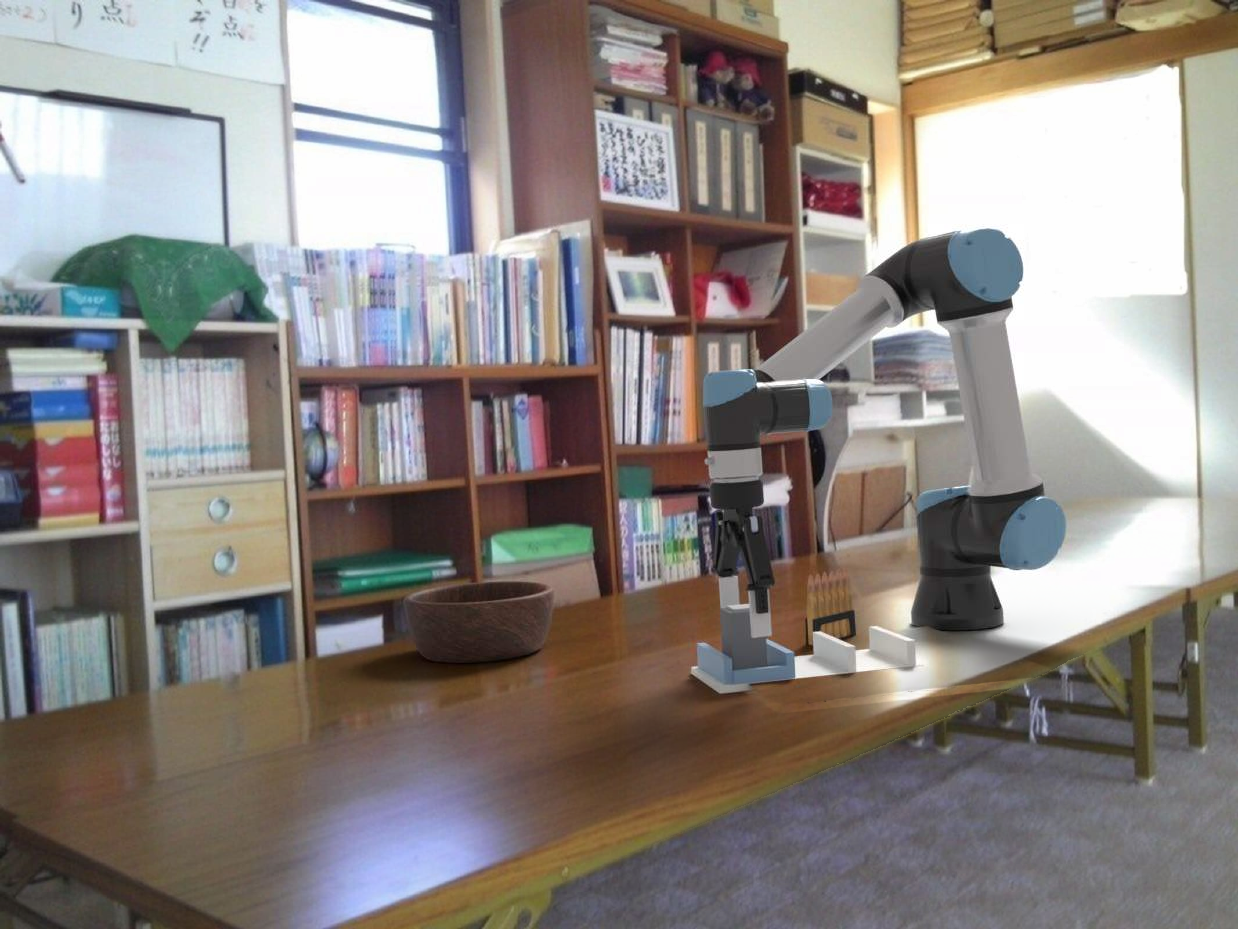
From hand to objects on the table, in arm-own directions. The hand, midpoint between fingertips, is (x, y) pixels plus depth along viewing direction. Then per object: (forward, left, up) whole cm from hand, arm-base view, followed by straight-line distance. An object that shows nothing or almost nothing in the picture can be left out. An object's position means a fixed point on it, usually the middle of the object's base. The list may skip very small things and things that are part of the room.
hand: (745, 628), depth 178 cm
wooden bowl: (+33, -40, -7) cm, 53 cm away
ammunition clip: (-20, -17, -7) cm, 27 cm away
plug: (0, 0, -6) cm, 6 cm away
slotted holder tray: (-9, 0, -7) cm, 11 cm away
